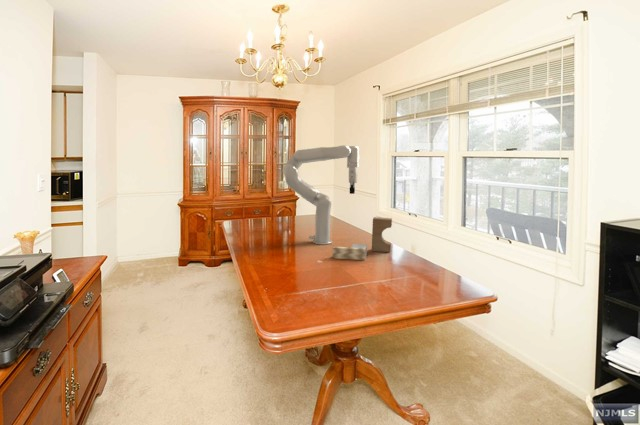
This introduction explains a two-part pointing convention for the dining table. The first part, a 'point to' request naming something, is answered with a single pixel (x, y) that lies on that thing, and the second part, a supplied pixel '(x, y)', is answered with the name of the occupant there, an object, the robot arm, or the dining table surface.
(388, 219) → the decorative block
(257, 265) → the dining table surface
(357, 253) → the board
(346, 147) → the robot arm
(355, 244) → the block
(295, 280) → the dining table surface
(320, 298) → the dining table surface
